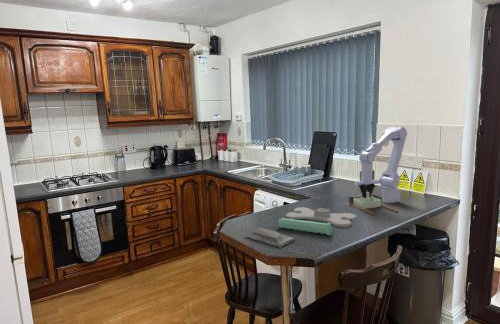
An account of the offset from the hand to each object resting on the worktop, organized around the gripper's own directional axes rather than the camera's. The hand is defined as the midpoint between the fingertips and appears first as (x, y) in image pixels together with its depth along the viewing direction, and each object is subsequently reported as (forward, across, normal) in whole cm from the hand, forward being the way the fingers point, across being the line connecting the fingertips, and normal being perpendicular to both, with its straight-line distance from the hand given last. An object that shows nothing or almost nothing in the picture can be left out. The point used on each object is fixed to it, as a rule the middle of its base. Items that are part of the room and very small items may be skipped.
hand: (366, 197), depth 186 cm
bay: (+6, 0, -4) cm, 7 cm away
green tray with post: (+5, 0, 0) cm, 5 cm away
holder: (+6, -32, -7) cm, 33 cm away
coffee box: (+6, +15, +21) cm, 27 cm away
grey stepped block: (+7, -66, -24) cm, 71 cm away
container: (+6, -48, -21) cm, 53 cm away
